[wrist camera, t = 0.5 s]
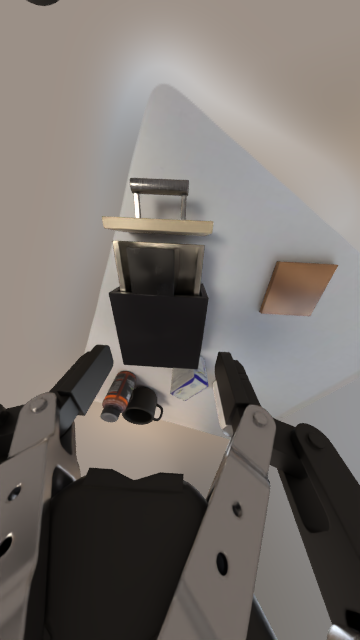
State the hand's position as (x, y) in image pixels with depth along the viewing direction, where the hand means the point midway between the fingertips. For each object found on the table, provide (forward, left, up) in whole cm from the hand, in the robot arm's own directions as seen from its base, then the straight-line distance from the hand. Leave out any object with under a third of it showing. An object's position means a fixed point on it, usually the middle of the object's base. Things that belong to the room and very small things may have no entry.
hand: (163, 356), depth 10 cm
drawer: (-5, -2, -19) cm, 20 cm away
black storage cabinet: (+7, -2, -20) cm, 21 cm away
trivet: (0, +23, -20) cm, 30 cm away
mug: (+37, -8, -20) cm, 43 cm away
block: (-4, -2, -18) cm, 19 cm away
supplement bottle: (+29, -14, -20) cm, 38 cm away
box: (+21, +4, -20) cm, 29 cm away
